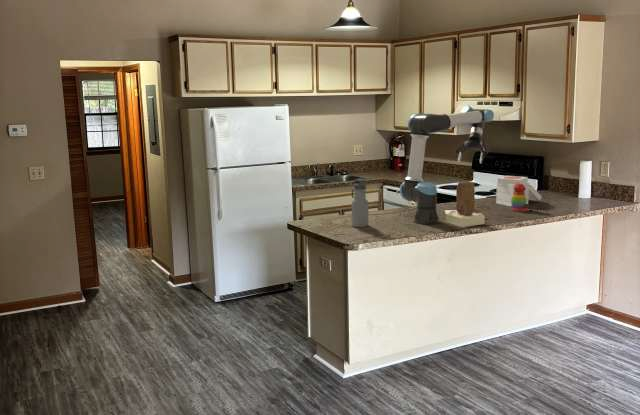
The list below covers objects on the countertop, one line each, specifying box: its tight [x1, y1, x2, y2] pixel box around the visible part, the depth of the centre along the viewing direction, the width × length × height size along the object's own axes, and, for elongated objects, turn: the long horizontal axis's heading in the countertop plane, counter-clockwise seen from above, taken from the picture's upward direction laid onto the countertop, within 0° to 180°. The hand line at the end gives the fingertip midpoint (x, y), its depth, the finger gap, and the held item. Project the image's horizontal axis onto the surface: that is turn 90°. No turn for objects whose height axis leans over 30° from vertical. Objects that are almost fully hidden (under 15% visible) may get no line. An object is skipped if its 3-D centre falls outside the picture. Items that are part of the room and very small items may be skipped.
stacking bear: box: [510, 183, 529, 213], centre depth 399 cm, size 11×10×18 cm
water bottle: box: [351, 178, 369, 228], centre depth 363 cm, size 10×10×28 cm
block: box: [455, 180, 476, 216], centre depth 365 cm, size 11×8×20 cm
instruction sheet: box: [444, 209, 457, 215], centre depth 397 cm, size 10×14×1 cm
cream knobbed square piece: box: [445, 212, 486, 228], centre depth 366 cm, size 16×16×6 cm
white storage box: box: [495, 175, 542, 207], centre depth 424 cm, size 19×30×18 cm, turn 119°
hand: (469, 161), depth 384 cm, fingers open, 13 cm apart
